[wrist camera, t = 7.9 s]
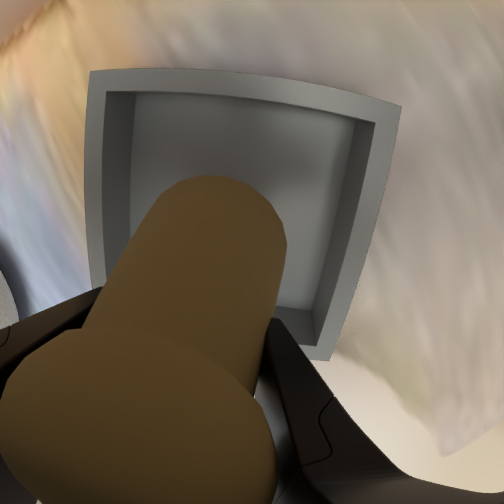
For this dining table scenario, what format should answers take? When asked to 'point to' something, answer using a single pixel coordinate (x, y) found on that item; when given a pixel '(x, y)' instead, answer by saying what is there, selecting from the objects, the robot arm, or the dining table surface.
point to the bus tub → (245, 172)
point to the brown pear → (160, 365)
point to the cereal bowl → (7, 305)
